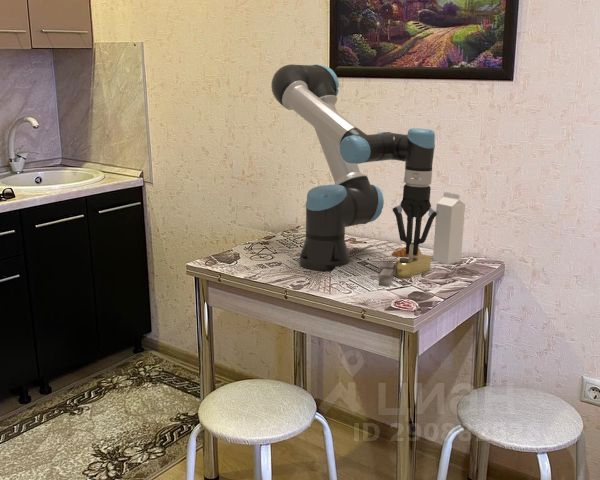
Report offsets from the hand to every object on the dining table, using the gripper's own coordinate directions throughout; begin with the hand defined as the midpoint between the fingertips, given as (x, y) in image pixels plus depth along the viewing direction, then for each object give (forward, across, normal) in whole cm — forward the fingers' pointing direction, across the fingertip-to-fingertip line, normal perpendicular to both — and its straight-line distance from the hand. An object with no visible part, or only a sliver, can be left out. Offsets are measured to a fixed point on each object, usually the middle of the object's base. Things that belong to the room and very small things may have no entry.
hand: (410, 265), depth 191 cm
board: (+3, 0, -7) cm, 8 cm away
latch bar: (+1, +1, -3) cm, 4 cm away
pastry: (+3, -4, +16) cm, 17 cm away
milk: (+2, +8, +14) cm, 17 cm away
